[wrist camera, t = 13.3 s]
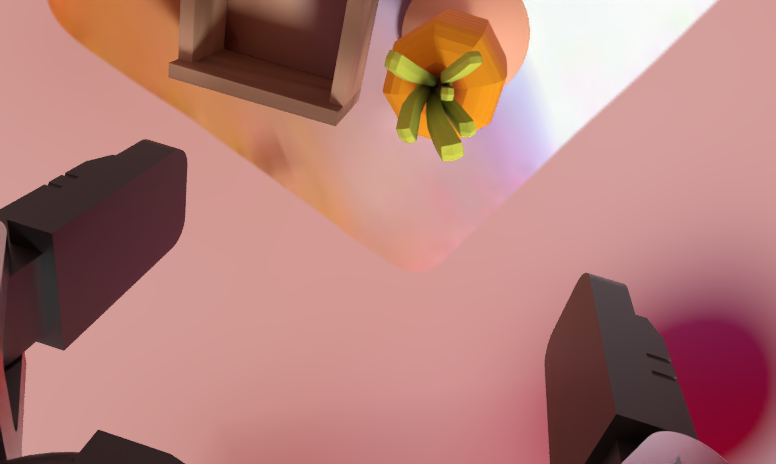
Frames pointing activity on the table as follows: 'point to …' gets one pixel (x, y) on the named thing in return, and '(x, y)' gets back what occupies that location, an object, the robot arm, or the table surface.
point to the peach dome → (493, 3)
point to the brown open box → (272, 64)
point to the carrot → (445, 80)
